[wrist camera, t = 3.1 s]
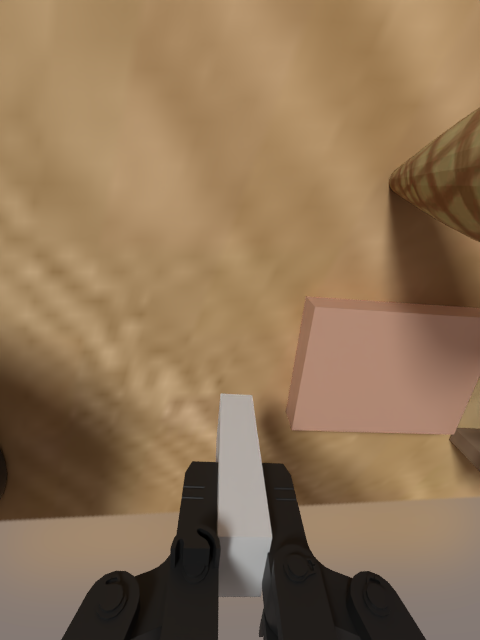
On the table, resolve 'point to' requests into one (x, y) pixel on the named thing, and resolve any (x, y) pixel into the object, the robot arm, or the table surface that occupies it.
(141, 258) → the table surface
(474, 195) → the ice cream cone
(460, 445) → the brown channel bracket
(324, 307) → the pinkish brown block
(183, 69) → the table surface
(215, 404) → the table surface
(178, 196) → the table surface
